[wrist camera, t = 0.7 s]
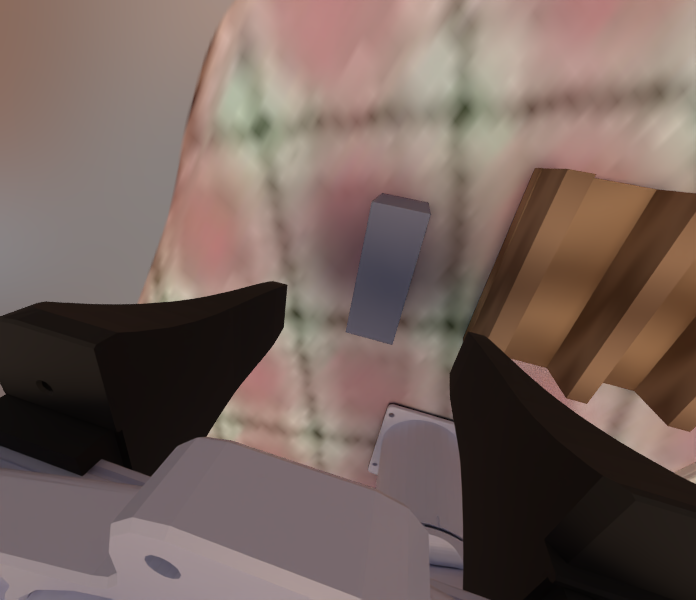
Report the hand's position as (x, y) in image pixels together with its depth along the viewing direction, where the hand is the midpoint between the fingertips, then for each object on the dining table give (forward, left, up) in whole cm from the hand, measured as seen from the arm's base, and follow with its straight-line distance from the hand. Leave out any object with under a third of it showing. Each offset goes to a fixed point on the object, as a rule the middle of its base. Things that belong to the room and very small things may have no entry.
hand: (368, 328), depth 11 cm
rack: (+1, -16, -10) cm, 19 cm away
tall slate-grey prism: (0, 0, -10) cm, 10 cm away
